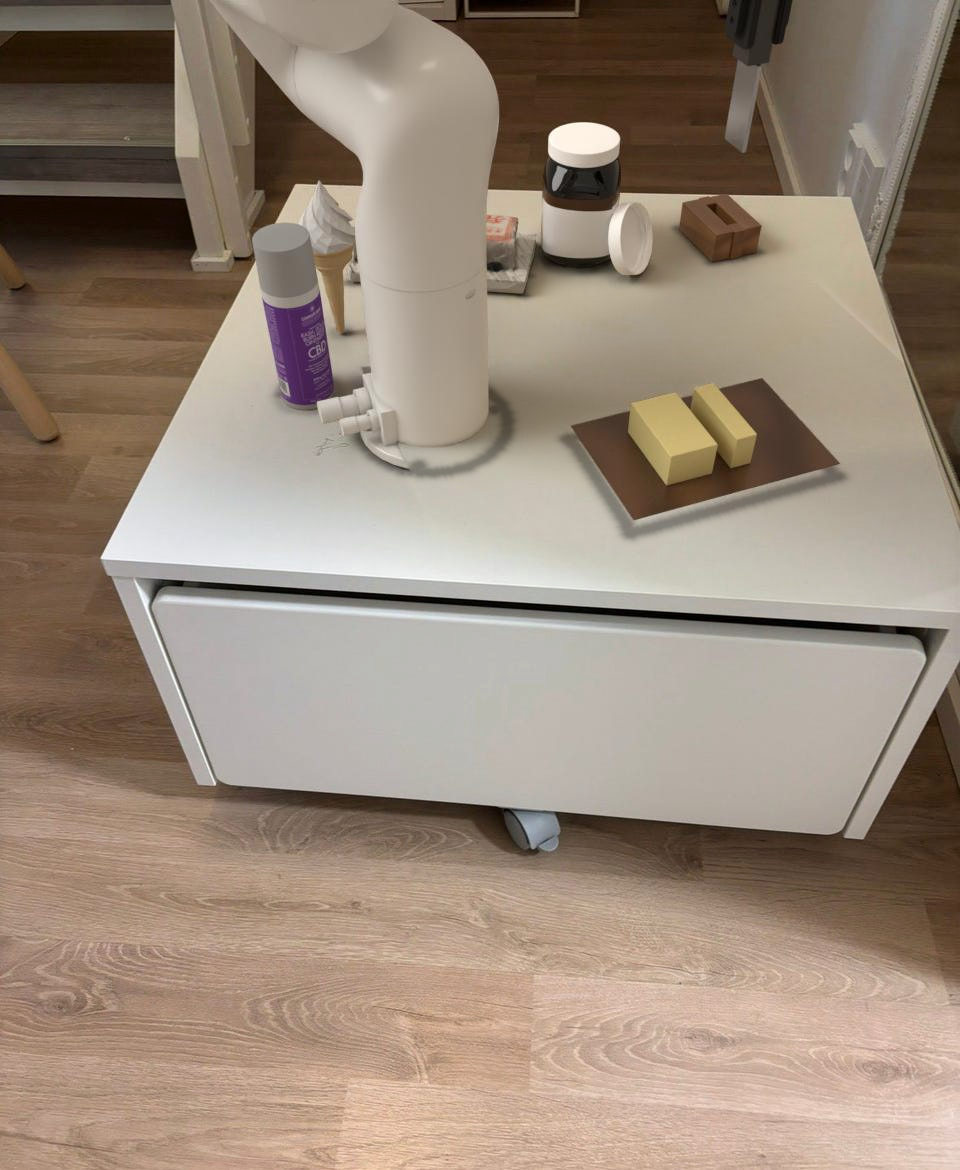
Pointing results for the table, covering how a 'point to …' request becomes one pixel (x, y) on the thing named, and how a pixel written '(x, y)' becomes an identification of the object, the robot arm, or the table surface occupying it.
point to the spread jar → (590, 203)
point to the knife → (750, 76)
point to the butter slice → (724, 425)
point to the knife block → (719, 227)
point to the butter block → (672, 438)
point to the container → (294, 314)
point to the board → (774, 458)
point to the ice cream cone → (330, 246)
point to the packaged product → (495, 255)
